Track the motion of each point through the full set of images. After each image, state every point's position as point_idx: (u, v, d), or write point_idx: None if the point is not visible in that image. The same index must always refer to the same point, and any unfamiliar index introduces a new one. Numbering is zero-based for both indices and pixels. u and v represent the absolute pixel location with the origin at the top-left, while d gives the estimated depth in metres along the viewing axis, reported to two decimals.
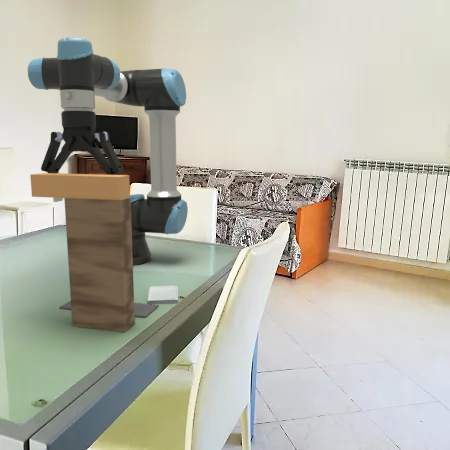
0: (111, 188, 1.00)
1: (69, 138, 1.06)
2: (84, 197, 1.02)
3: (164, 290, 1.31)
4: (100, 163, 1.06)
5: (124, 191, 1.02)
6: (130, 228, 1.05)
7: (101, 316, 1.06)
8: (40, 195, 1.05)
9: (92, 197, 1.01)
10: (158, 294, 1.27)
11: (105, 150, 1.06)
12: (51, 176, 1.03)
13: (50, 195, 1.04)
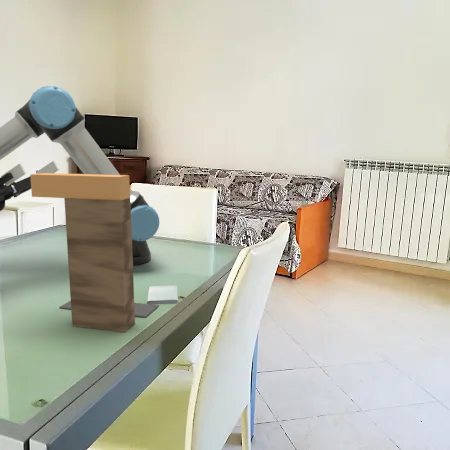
0: (111, 188, 1.00)
1: (7, 199, 1.26)
2: (84, 197, 1.02)
3: (164, 290, 1.31)
4: (2, 190, 1.18)
5: (124, 191, 1.02)
6: (130, 228, 1.05)
7: (101, 316, 1.06)
8: (40, 195, 1.05)
9: (92, 197, 1.01)
10: (157, 294, 1.27)
11: None
12: (51, 176, 1.03)
13: (50, 195, 1.04)
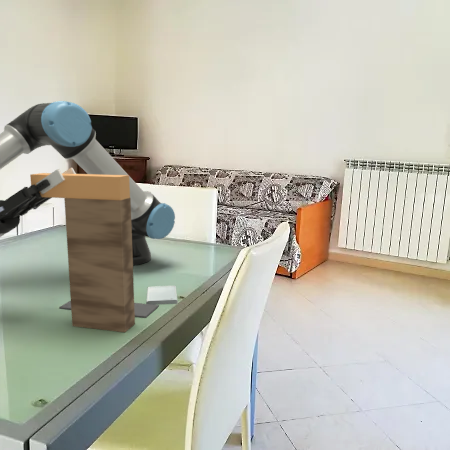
0: (111, 188, 1.00)
1: (23, 214, 1.11)
2: (84, 197, 1.02)
3: (162, 290, 1.31)
4: (31, 200, 1.05)
5: (124, 191, 1.02)
6: (130, 228, 1.05)
7: (101, 316, 1.06)
8: None
9: (92, 197, 1.01)
10: (157, 294, 1.27)
11: (14, 208, 1.04)
12: None
13: (50, 195, 1.04)
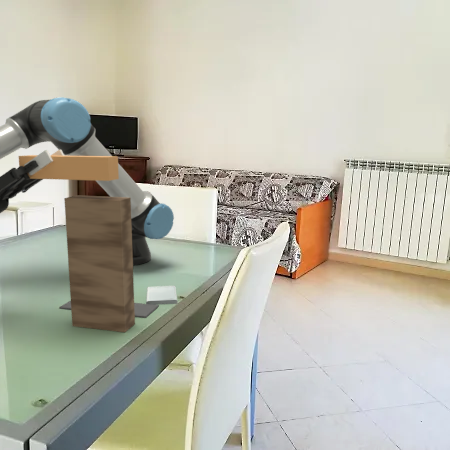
0: (99, 168, 1.00)
1: (12, 197, 1.11)
2: (72, 178, 1.02)
3: (162, 290, 1.31)
4: (19, 182, 1.05)
5: (113, 171, 1.01)
6: (130, 228, 1.05)
7: (101, 316, 1.06)
8: None
9: (80, 178, 1.01)
10: (156, 294, 1.27)
11: (2, 189, 1.03)
12: None
13: (38, 176, 1.04)
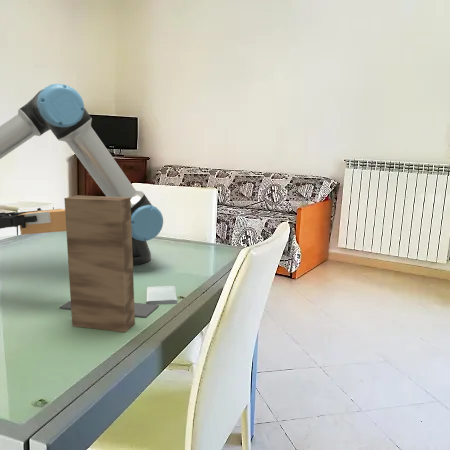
0: None
1: None
2: None
3: (162, 290, 1.31)
4: None
5: None
6: (130, 228, 1.05)
7: (101, 316, 1.06)
8: (28, 232, 1.17)
9: None
10: (156, 294, 1.27)
11: None
12: None
13: (37, 231, 1.17)
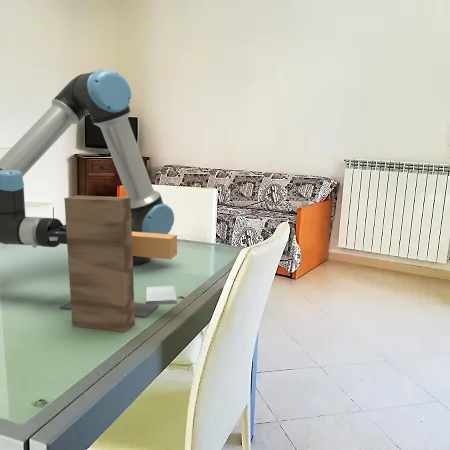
0: (161, 248, 1.11)
1: None
2: (136, 255, 1.13)
3: (161, 290, 1.31)
4: None
5: (173, 250, 1.12)
6: (130, 228, 1.05)
7: (101, 316, 1.06)
8: None
9: (144, 255, 1.12)
10: (156, 294, 1.27)
11: None
12: None
13: None
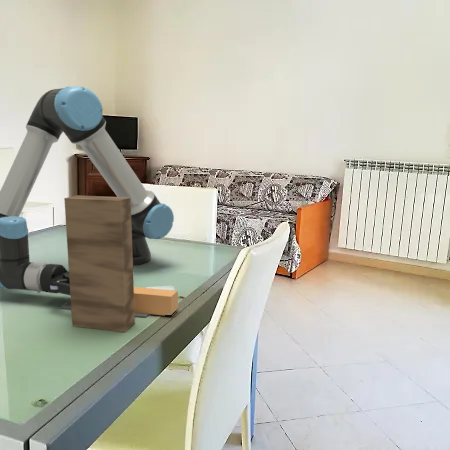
0: (163, 305, 1.14)
1: None
2: (138, 311, 1.16)
3: None
4: None
5: (174, 306, 1.15)
6: (130, 228, 1.05)
7: (101, 316, 1.06)
8: None
9: (146, 312, 1.15)
10: None
11: None
12: None
13: None
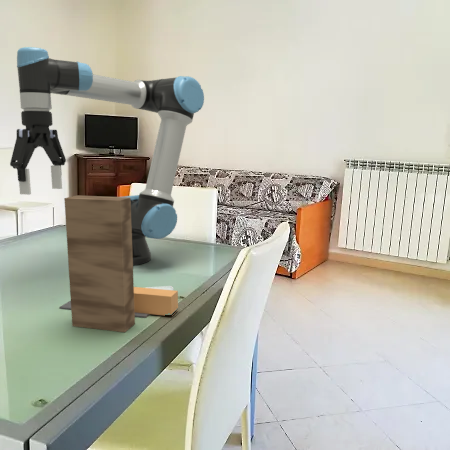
0: (163, 305, 1.14)
1: None
2: (138, 311, 1.16)
3: None
4: None
5: (174, 306, 1.15)
6: (130, 228, 1.05)
7: (101, 316, 1.06)
8: None
9: (146, 312, 1.15)
10: None
11: None
12: None
13: None
